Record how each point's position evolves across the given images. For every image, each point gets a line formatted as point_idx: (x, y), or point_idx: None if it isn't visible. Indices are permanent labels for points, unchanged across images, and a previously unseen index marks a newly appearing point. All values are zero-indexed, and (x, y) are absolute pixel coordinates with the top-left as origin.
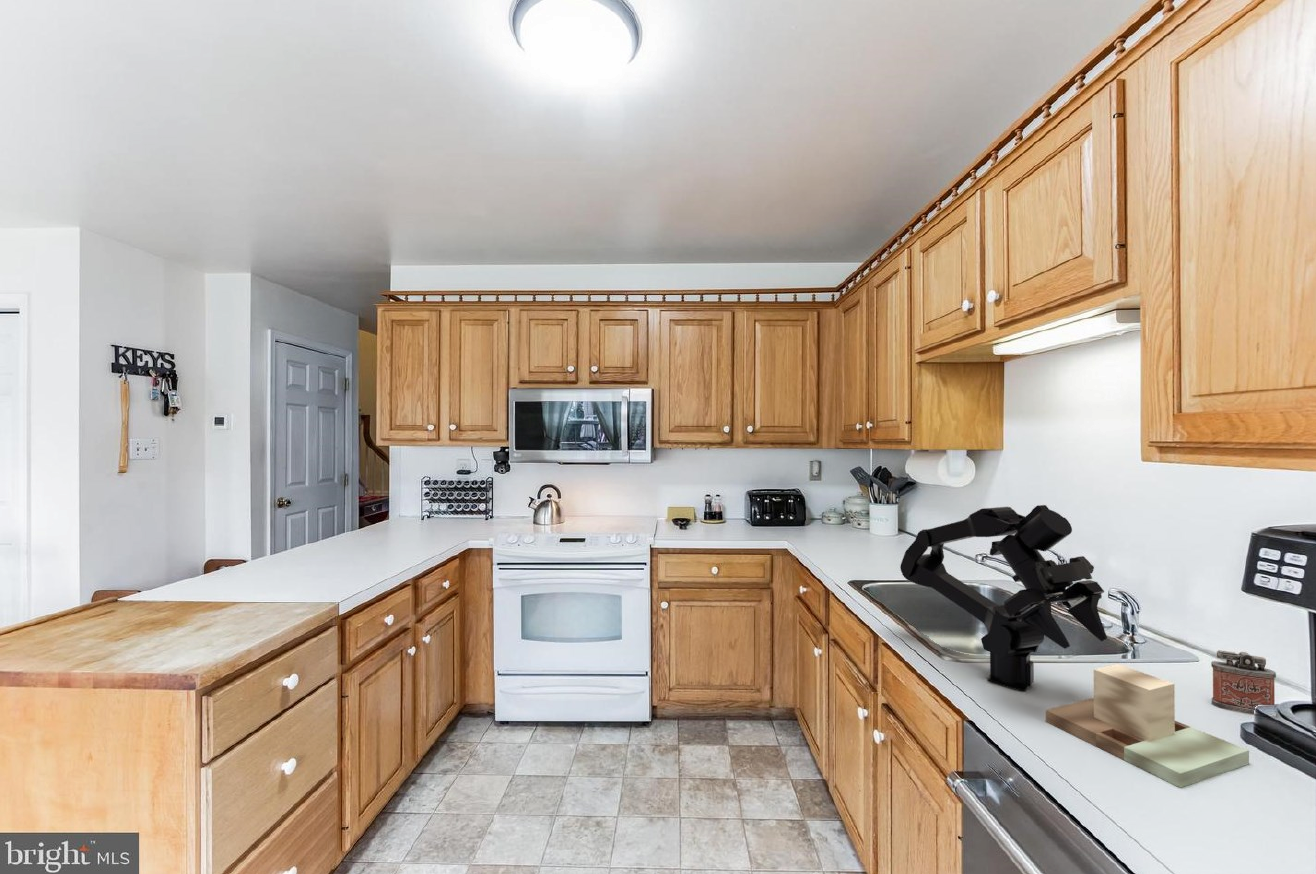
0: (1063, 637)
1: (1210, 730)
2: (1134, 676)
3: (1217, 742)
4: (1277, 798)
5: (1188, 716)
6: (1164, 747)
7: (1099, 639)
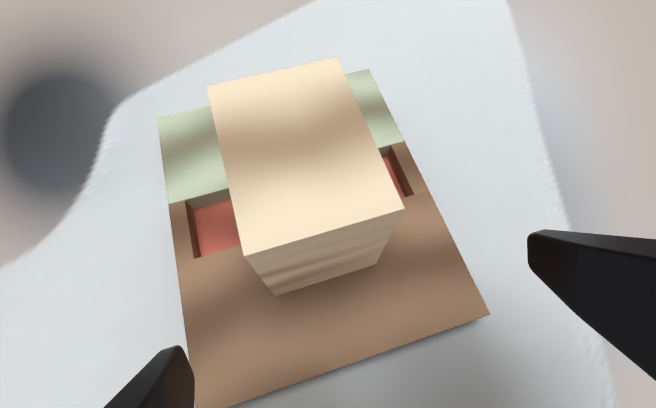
0: (600, 236)
1: (84, 251)
2: (292, 139)
3: (186, 143)
4: (238, 63)
5: (48, 324)
6: None
7: (192, 395)
